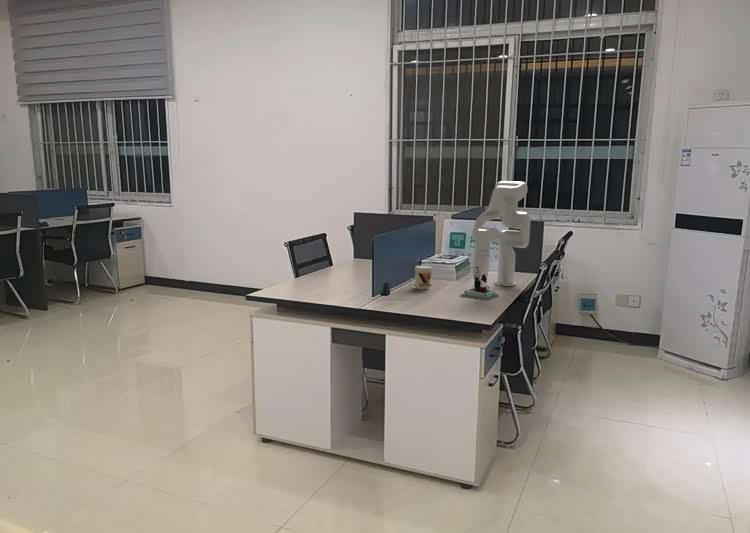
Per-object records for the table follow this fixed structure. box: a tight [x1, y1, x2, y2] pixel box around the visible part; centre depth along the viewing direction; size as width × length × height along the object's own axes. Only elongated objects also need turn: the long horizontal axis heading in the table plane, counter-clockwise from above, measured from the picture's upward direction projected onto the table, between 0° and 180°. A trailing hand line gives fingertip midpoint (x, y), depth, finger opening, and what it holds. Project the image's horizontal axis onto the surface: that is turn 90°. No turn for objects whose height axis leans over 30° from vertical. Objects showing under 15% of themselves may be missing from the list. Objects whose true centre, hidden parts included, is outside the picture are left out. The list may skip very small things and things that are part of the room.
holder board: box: [460, 286, 500, 301], centre depth 303 cm, size 14×15×3 cm
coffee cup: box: [414, 265, 433, 290], centre depth 319 cm, size 9×9×12 cm
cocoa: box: [471, 269, 490, 293], centre depth 302 cm, size 10×6×12 cm, turn 80°
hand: (480, 286), depth 303 cm, fingers closed on cocoa, 6 cm apart
